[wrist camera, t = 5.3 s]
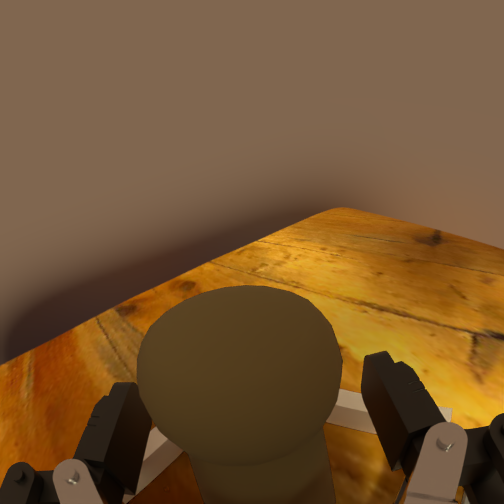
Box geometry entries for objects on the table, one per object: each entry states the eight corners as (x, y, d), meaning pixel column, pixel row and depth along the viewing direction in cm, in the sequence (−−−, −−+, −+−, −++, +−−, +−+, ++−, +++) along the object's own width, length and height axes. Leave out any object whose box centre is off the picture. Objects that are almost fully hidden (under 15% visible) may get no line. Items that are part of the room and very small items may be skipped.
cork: (352, 469, 12) (380, 268, 8) (304, 570, 7) (305, 469, 3) (245, 440, 14) (201, 255, 11) (184, 521, 10) (56, 349, 6)
